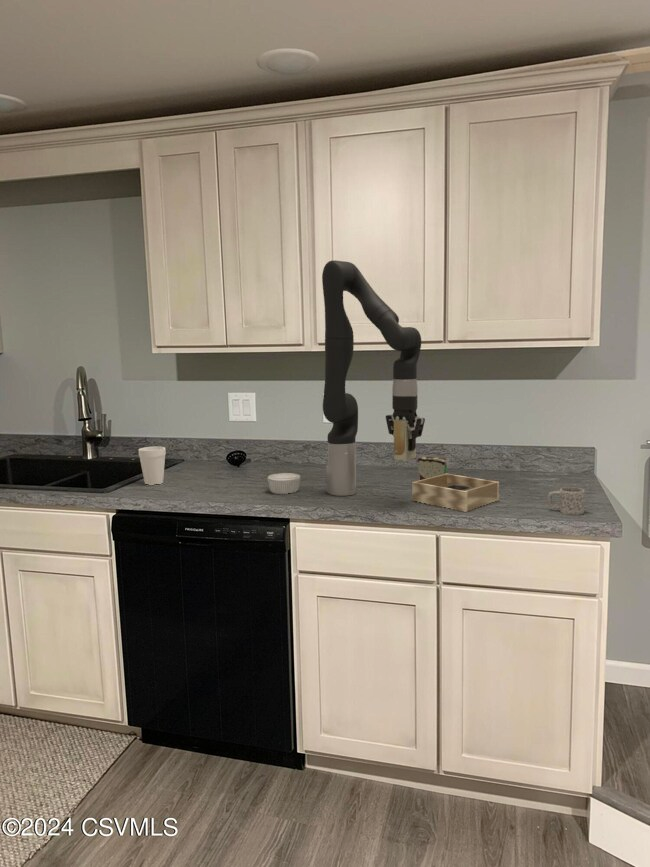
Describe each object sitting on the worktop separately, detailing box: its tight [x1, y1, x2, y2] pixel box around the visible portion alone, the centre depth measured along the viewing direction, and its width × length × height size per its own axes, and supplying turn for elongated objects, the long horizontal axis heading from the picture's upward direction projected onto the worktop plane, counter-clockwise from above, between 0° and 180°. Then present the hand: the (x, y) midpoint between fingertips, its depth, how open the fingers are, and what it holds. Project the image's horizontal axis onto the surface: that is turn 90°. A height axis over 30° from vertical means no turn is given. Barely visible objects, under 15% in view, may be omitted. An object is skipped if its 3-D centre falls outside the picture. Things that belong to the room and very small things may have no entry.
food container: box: [415, 454, 450, 481], centre depth 233 cm, size 12×6×10 cm, turn 48°
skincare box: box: [393, 420, 417, 462], centre depth 205 cm, size 6×4×12 cm
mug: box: [547, 486, 586, 516], centre depth 196 cm, size 10×7×7 cm, turn 71°
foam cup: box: [138, 445, 167, 485], centre depth 244 cm, size 10×9×13 cm
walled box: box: [411, 472, 500, 513], centre depth 211 cm, size 20×18×6 cm
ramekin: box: [267, 472, 301, 495], centre depth 229 cm, size 11×11×5 cm
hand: (404, 449), depth 206 cm, fingers closed on skincare box, 4 cm apart
